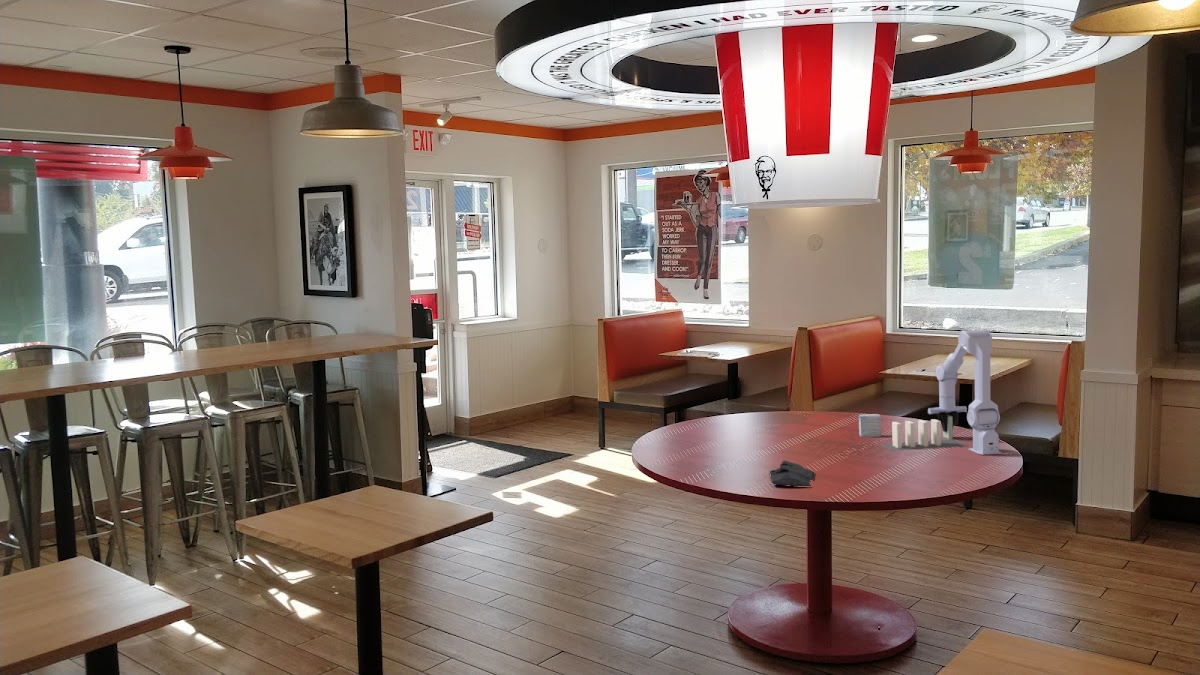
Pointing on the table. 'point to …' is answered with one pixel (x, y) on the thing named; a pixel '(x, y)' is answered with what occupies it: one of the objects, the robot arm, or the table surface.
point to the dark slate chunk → (791, 475)
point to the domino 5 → (949, 429)
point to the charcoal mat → (917, 446)
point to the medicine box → (870, 425)
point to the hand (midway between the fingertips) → (947, 431)
